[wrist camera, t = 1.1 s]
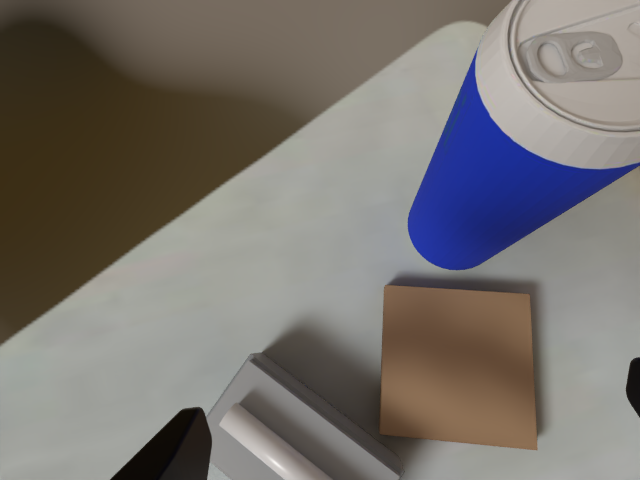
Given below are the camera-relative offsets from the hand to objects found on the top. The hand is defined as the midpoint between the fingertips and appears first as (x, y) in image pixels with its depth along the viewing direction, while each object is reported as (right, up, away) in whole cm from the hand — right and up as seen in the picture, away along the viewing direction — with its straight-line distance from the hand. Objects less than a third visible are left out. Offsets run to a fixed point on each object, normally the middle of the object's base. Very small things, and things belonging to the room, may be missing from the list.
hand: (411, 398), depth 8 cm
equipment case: (-3, -7, +13) cm, 15 cm away
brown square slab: (+5, -3, +13) cm, 14 cm away
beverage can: (+6, +4, +15) cm, 17 cm away
